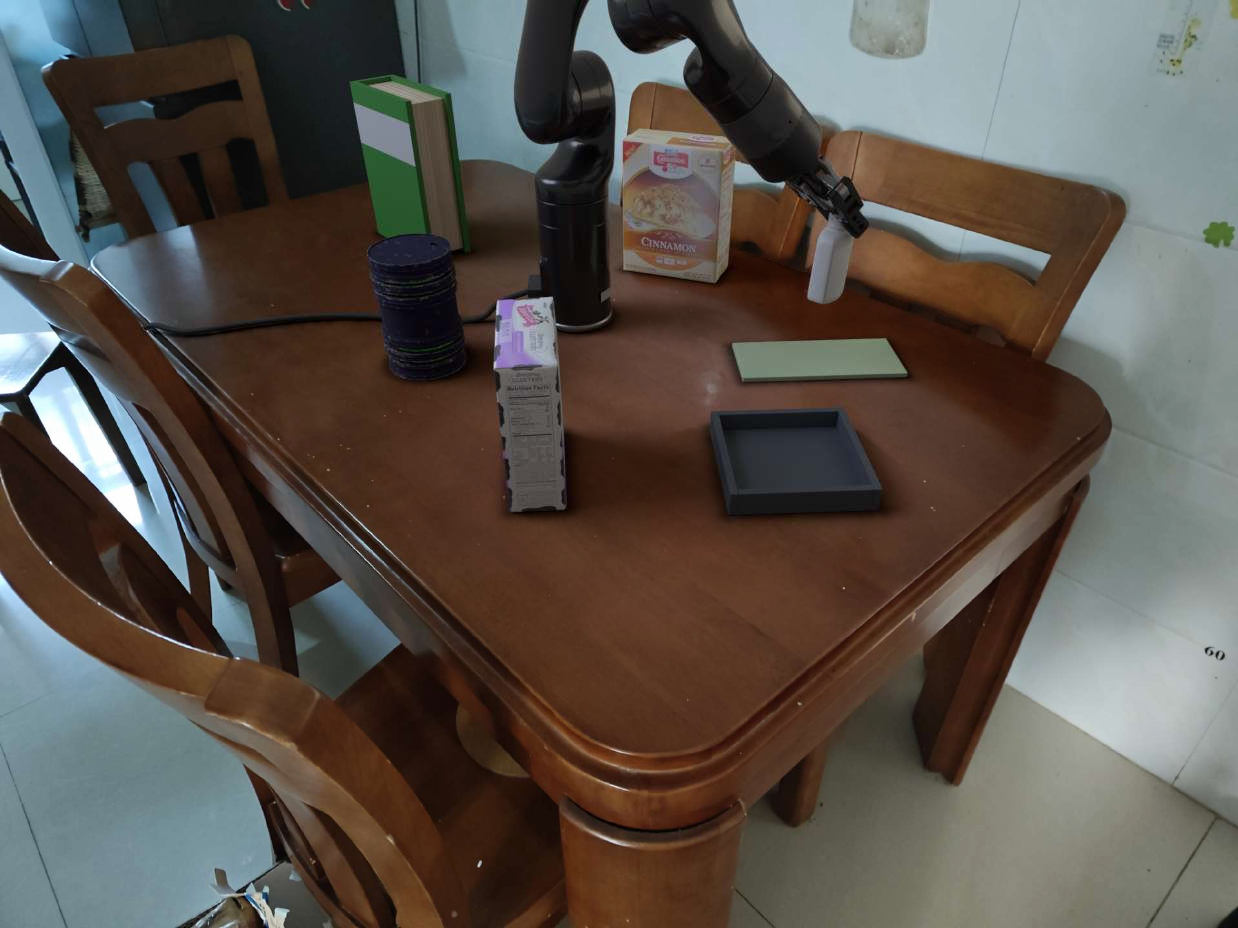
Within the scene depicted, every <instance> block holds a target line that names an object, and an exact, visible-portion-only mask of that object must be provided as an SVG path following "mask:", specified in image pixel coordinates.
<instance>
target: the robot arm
mask: <svg viewBox="0 0 1238 928" xmlns="http://www.w3.org/2000/svg"><path fill="white" fill-rule="evenodd" d="M589 2H590V0H526V5H525V12H524V19H523V25H522V30H521V37H520V42H519V48H518V54H517V60H516V67H515V72H514V73H515V74H514V83H513V104H514V110H515V115H516V119H517V122H518V124H519V127H520V129H521V131H522V132H523V134H524V135H525V137H526V138H527V139H528V140H529V141H531V142H532V143H534V144H537V145H542V146H543V145H554V144H557V146H556V148H555V150H554V152H553V153H552V155H551V156H550V157H549V158H548V159H547V160H546V161H545V162H544V163H542V165H541V166H540V167H539V168H538V169H537V170H536V173H535V175H534V190H535V191H534V192H535V205H536V218H537V230H538V232H537V233H538V247H539V260H538V265H539V266H538V267H539V274H537V273H536V274H529V275H528V281H527V283H528V284H527V288H525V289H523V290H520V291H517V292H514V293H511V294H508V295H506V296H503V297H502V298H500V299H499V300H512V299H521V298H523V297H525V296H527V298H545V297H553V301H554V310H555V320H556V329H557V331H560V332H566V333H585V332H591V331H596V330H599V329H601V328H603V327H605V326H607V325H608V324H609V323H610V322H611V321H612V319H613V307H612V285H611V279H612V278H611V244H610V243H611V242H610V237H611V236H610V199H609V197H610V195H609V191H610V188H609V183H610V180H611V177H612V175H613V171H614V166H615V156H616V155H615V153H616V152H615V151H616V147H615V146H616V124H617V122H616V121H617V102H616V100H617V99H616V90H615V84H614V81H613V76H612V73H611V72H610V69H609V67H608V65H607V63H606V62H605V60H604V59H603V58H602V57H601V56H600V55H599V54H598V53H596V52H594V51H592V50H589V49H588V50H587V49H580V50H575V44H576V38H577V35H578V30H579V26H580V23H581V20H582V18H583V15H584V13H585V10H586V8H587V7H588V4H589ZM606 4H607V11H608V17H609V20H610V24H611V26H612V29H613V31H614V33H615V35H616V37H617V38H618V40H619V41H620V43H621V44H622V45H623V46H624V47H625V48H626V49H628V50H629V51H630V52H632V53H634V54H638V55H650V54H654V53H657V52H659V51H662V50H664V49H666V48H668V47H671V46H674V45H675V44H678V43H680V42H683V41H685V40H687V39H688V40H689V41H690V42H691V43H692V44H693V45H694V46H695V47H693V49H692V50H691V52H690V53H689V55H688V56H687V58H686V59H685V62H684V65H683V70H682V78H683V82H684V85H685V86H686V88H687V90H688V91H689V93H690V94H691V96H692V98H694V100H696V101H697V103H698V104H699V105H700V106H701V107H702V108H703V110H704V111H705V112H706V113H707V114H708V116H710V117H711V118H712V120H713V121H714V122H715V123H716V124H717V126H718V127H719V129H720V131H721V132H722V134H723V135H724V137H726V138H727V139H728V140H729V142H730V143H731V144H732V145H733V146H734V147H735V148H736V152H738V153H739V154H740V156H742V157H743V158H744V160H745V161H746V162H747V163H748V164H749V166H750V167H751V168H752V169H753V170H754V171H755V172H756V173H757V174H758V176H759V177H760V178H761V179H762V180H763V181H765V182H767V183H768V184H769V183H770V184H781V183H785V185H787V187H789V188H790V190H792V191H793V192H794V193H795V195H796V196H797V197H798V198H799V199H801V200H804V201H807V203H808V205H809V206H810V207H813V208H816V210H817V211H818V212H819V213H820V214H821V216H822V217H823V218H824V219H825V221H826V222H828V220H829V214H830V213H831V214H832V215H833V216H834V218H835V219H836V220H837V221H839V222H840V223H841V224H842V226H843V227H844V228H845V229H846V230H847V232H848V233H849V234H850V235H851V236H852V237H854V239H859V238H860V237H861V236H862V235H863V234H864V233H866V232H867V230H868V229H869V227H870V222H869V221H868V219H867V218H866V217H865V215H863V213H862V212H861V209H862V208H863V207H864V206H865V204H864V202H863V199H862V198H861V196H860V194H859V192H858V190H857V188H856V186H855V184H854V182H853V181H852V179H851V178H850V177H849V176H846V175H843V176H842V177H841V176H840V175H839V174H838V173H837V172H836V171H835V170H834V168H833V164H832V163H831V162H830V161H829V159H828V158H827V157H826V156H824V155H822V154H820V150H821V147H822V142H823V130H822V127H821V126H820V125H819V123H818V122H817V121H816V119H815V118H814V116H813V115H812V114H811V113H810V112H809V110H808V109H807V108H806V106H805V105H804V104H803V102H802V101H801V100H800V98H799V97H798V96H797V95H796V93H795V92H794V91H793V89H792V88H791V86H789V84H788V83H787V82H786V80H784V79H783V78H782V76H780V75H779V74H778V73H777V72H776V71H775V70H774V69H773V68H772V67H771V66H770V64H769V63H768V62H767V60H766V59H765V58H764V57H763V55H762V54H761V53H760V52H759V50H758V49H757V47H756V46H755V44H753V42H752V41H751V39H750V38H749V36H748V34H747V32H746V30H745V28H744V25H743V22H742V19H741V16H740V14H739V12H738V9H737V7H736V5H735V1H734V0H606ZM497 301H498V300H496V301H495V302H494V303H493V304H492V305H491V306H490V307H489V308H488V309H487V310H486V311H485V312H484V313H482V314H480V315H477V316H473V317H468V318H461V319H462V321H463V325H468V324H475V323H479V322H482V321H484V320H487V319H489V318H490V317H491V316H492V315H493V313H494V312H495V311H496V309H497ZM324 319H325V320H326V319H364V320H366V319H367V320H381V321H382V316H381V313H376V312H374V313H373V312H318V313H316V312H315V313H302V314H291V315H281V316H273V317H265V318H257V319H249V320H242V321H235V322H228V323H223V324H217V325H211V326H210V325H209V326H203V327H193V328H179V327H174V326H170V325H166V324H163V323H160V322H154V321H153V322H152V321H151V322H148V323H147V322H146V323H145V324H143V325H141V327H143V328H144V329H145V330H146V332H147V331H149V330H150V329H156V330H160V331H164V332H167V333H170V334H176V335H199V334H207V333H215V332H220V331H221V332H222V331H226V330H233V329H238V328H245V327H246V328H247V327H252V326H253V327H254V326H261V325H268V324H269V325H270V324H276V323H277V324H278V323H285V322H297V321H309V320H324Z"/></svg>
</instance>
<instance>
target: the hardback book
mask: <svg viewBox="0 0 1238 928" xmlns="http://www.w3.org/2000/svg"><path fill="white" fill-rule="evenodd" d="M349 86H350V91H351V96H352V102H353V107H354V112H355V113H354V114H355V117H356V123H357V129H358V132H359V133H358V134H359V138H360V143H361V144H360V145H361V148H362V154H363V160H364V164H365V170H366V175H367V181H368V185H369V186H368V187H369V190H370V197H371V202H372V206H373V211H374V217H375V221H376V222H375V223H376V228H377V233H378V234H379V235H381V236H383V237H385V238H389V237H392V236H397V235H403V234H413V233H424V234H433V235H438V236H441V237H444V238H446V239H447V240H448V241H449V242H450V244H451V250H452V252H453V251H457V250H460V251H462V252H464V253H465V254H467V253H470V252H471V251H472V249H471V243H470V235H469V228H468V219H467V212H466V202H465V196H464V188H463V179H462V171H461V163H460V156H459V148H458V140H457V139H458V138H457V132H456V123H455V114H454V108H453V107H454V106H453V100H452V99H453V98H452V92H449V91H445V90H442V89H439V88H436V87H433V86H429V85H426V84H424V83H420V82H417V81H414V80H411V79H408V78H405V77H402V76H399V75H395V74H387V75H382V76H376V77H370V78H365V79H364V78H363V79H358V80H357V79H356V80H352V81H351V80H350V81H349Z"/></svg>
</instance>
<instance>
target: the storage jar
mask: <svg viewBox="0 0 1238 928" xmlns="http://www.w3.org/2000/svg"><path fill="white" fill-rule="evenodd" d="M452 252H453V251H452V250H451V244H450V242H449V241H448V240H447V239H446V238H444V237H441V236H438V235H433V234H424V233H413V234H403V235H397V236H392V237H389V238H386V237H385V238H383V239H380V240H378V241H376V242H374V243H372V244H371V245H370V246H369V247H368V248H367V251H366V255H367V261H368V264H369V265H368V266H369V271H370V273H369V277H370V282H371V285H372V288H373V291H372V293H373V295H374V297H375V300H376V301H377V302H378V305H379V311H380V314H381V316H382V320H381V321H382V324H381V337H382V338H383V345H384V350H385V352H386V355H387V358H388V360H389V361H388V365H389V369H390V371H391V372H392V373H393V374H394V375H395V376H397V377H399V378H402V379H404V380H410V381H419V382H420V381H431V380H433V381H434V380H438V379H443V378H445V377H448V376H451V375H453V374H454V373H456V372H458V371H459V370H461V369H462V368H463V367H464V366H465V364H466V362H467V352H466V350H465V349H466V344H465V341H466V337H465V331H464V330H465V329H464V324H463V321H462V319H463V318H462V316H461V314H459V307H458V299H457V291H458V280H457V272H456V265H455V262H454V258H453V255H452Z"/></svg>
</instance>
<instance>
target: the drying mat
mask: <svg viewBox="0 0 1238 928" xmlns="http://www.w3.org/2000/svg"><path fill="white" fill-rule="evenodd" d="M731 348H732V351H733V354H734V357H735V361H736V364H737V368H738V371H739V373H740V377H741V380H742V383H756V382H757V383H758V382H759V383H760V382H789V381H790V382H791V381H821V380H823V381H825V380H826V381H827V380H854V379H855V380H856V379H858V380H859V379H861V380H862V379H888V378H889V379H891V378H892V379H893V378H907V377H908V371H907V369H906V368H905V367H904V365H903V363H902V362H901V360H900V358H899V357H898V355H897V354H896V352H895V350H894V349H893V347H892V345H891V344H890V343H889V341H888V340H887V338H886V337H885V338H882V337H881V338H852V339H818V340H817V339H815V340H814V339H812V340H783V341H778V340H777V341H751V342H750V341H747V342H745V341H743V342H732V343H731Z"/></svg>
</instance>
